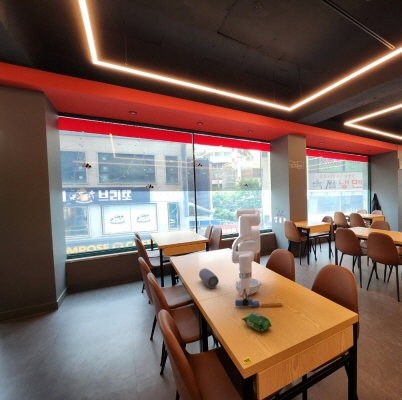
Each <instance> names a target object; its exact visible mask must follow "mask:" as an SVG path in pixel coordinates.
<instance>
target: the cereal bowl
mask: <svg viewBox="0 0 402 400" xmlns="http://www.w3.org/2000/svg"><path fill="white" fill-rule="evenodd" d="M240 283H241V280H240V281H238V282H237V281H236V283H235V289H236V291H237V293H239V294H240ZM260 288H261V281H260V280H259V279H255V278H253V279H250V289H249V294H248V296H252V295H253V294H255V293H257V292H258V291H259V290H260Z"/></svg>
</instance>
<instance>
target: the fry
mask: <svg viewBox="0 0 402 400" xmlns="http://www.w3.org/2000/svg"><path fill="white" fill-rule="evenodd" d="M267 307H268V308H271V307H272V308H273V307H282V301H262V302H261V308H267Z"/></svg>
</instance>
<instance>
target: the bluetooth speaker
mask: <svg viewBox="0 0 402 400" xmlns="http://www.w3.org/2000/svg"><path fill="white" fill-rule="evenodd" d="M198 277H199V278H200V280H201V281H202V283H203V284H204V285H205V286H207V287H208V288H216V287H218V285H219V278H218V276H217V275H216V274H215V273H214V272H213V271H211V270H210V269H208V268H206V267H205V268H201V270H200V271H199V272H198Z"/></svg>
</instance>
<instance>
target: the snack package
mask: <svg viewBox="0 0 402 400" xmlns="http://www.w3.org/2000/svg"><path fill="white" fill-rule="evenodd" d="M241 320H242V321H244V323H245V325H246V326H248V327H249V328H251V329H253V330H255V331H257V332H259V333H262V332H264V331H265V330H267V329H268V328H272V322H271V321H270V320H269V318H267V317H265V316H263V315H261V314H258V313H256V312H252V313H249V314H248V315H247V316H245V317H242V318H241Z"/></svg>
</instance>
